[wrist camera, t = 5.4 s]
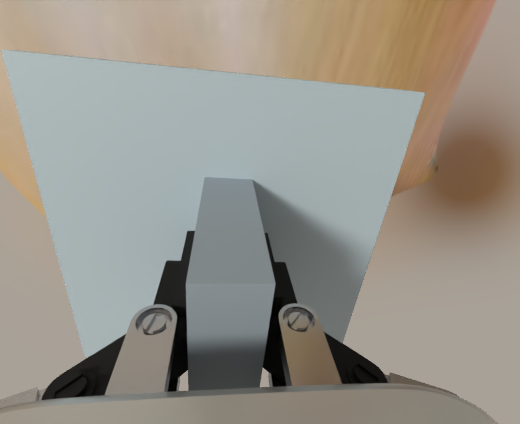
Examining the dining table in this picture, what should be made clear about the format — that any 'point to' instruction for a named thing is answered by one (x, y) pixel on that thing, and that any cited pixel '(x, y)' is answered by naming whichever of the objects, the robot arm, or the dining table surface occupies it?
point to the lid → (208, 194)
